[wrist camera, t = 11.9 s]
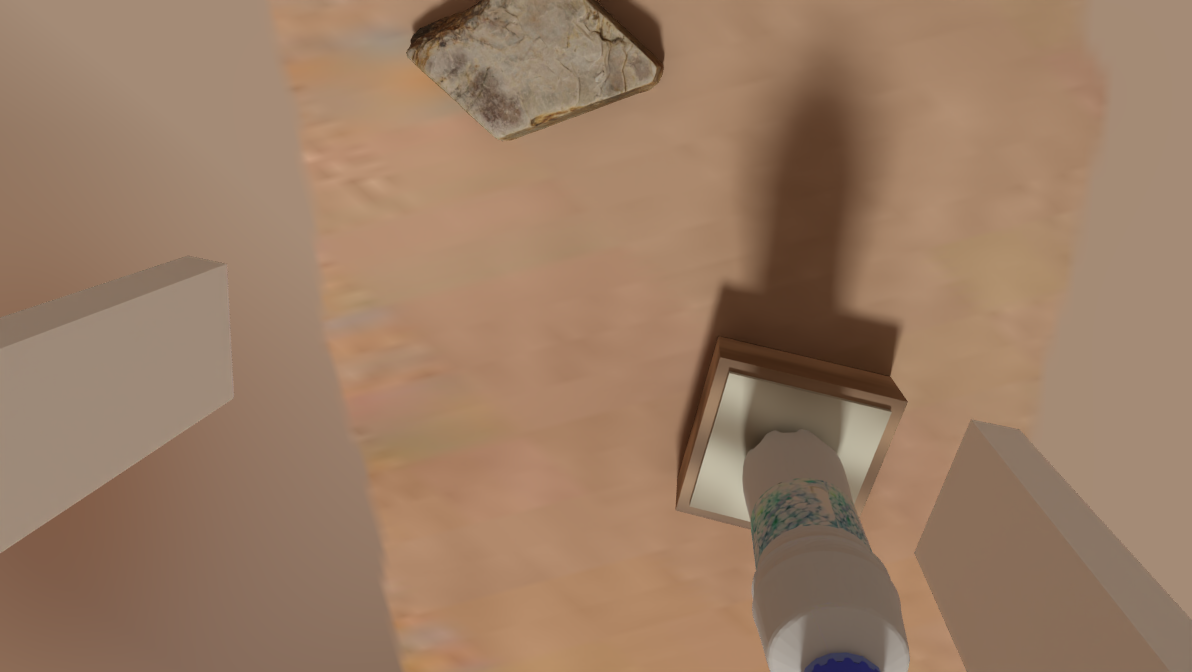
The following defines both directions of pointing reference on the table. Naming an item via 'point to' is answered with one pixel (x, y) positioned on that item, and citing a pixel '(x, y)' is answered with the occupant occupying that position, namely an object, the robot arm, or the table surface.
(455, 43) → the stone
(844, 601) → the bottle
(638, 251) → the table surface
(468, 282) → the table surface
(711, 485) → the picture frame
